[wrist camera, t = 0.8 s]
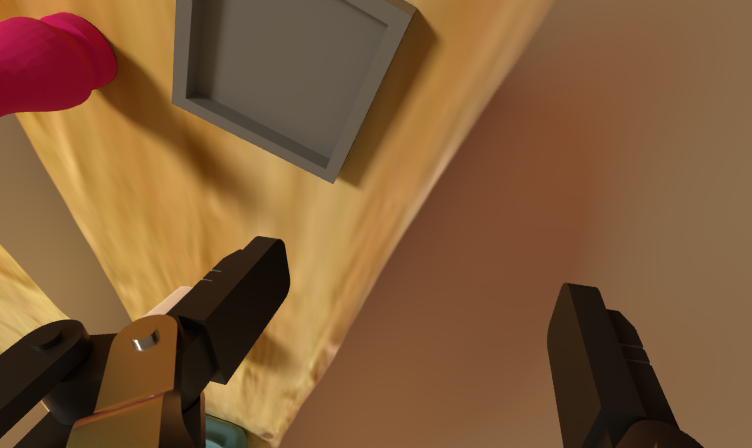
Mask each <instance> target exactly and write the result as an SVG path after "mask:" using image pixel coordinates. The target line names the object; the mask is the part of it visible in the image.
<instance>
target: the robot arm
mask: <svg viewBox="0 0 752 448" xmlns="http://www.w3.org/2000/svg"><path fill="white" fill-rule="evenodd" d="M289 288H290V274H289V268H288V262H287V255H286V249H285V244H284V242H283V241H282V240H281V239H275V238H269V237H262V236H257V237H255V238H254V239H253V240H252V241H251V242H250V243H249V244H248V245H247V246H246V247H245V248H244V249H243V250H240V249H239V250H237V251H236V252H234V253H232V254H230V255H228V256H226V257H225V258H223V259H222V260H221V261H220V262H219V263H218V264H217V265H216V266H215V267H214V268H213V269H212V271H210V272H209V273H208V274H207V275H206V276H205V277H204V278H203V280H200V281H199V282H198V283H197V284H196V285H195V286H194V287H193V288H192V289H191V290H190V291H189V292H188V293H187V294H186V295H185V296H184V297H183V298H182V299H181V300H180V301H179V302H178V303H177V304H176V305H174V306H173V307H172V308H171V309H170V310H169V311H168V312H167V313H166V314H165V315H162V314H158V315H150V316H146V317H143V318H140V319H138V320H136V321H134V322H132V323H130V324H129V325H127V326H126V327H124V328H123V329H122V330H121V331H120V332H119V333H116V334H102V335H89V334H88V333H87V331H86V329H85V328H84V326H83V324H82V323H81V322H79V321H77V320H71V319H68V320H59V321H55V322H52V323H49V324H46V325H44V326H41V327H39V328H37V329H35V330H33V331H32V332H30V333H29V334H27V335H26V336H24V337H23V338H22V339H20V340H19V341H18V342H16V343H15V344H14V345H12V346H11V347H10V348H9V349H7V350H6V351H5V352H3V353H2V354H1V355H0V439H1V437H2V436H3V435H5V434H6V433H7V431H9V430H10V429H11V428H12V427H13V426H14V425H15V424H16V423H17V422H18V421H19V420H20V419H21V418H23V417H24V416H25V415H26V414H27V413H28V412H29V411H30V410H31V409H32V408H33V407H34V406H35V405H36V404H37V403H38V402H39V401H41V400H42V401H43V402H44V404H45V405H46V406H47V408H48V409H49V410H50V412H49V413H48V414H47V415H46V416H45V417H44V418H43V419H42V420H41V421H40V422H39V423H38V424H37V425H36V426H35V427H34V428H32V429H31V430H30V432H29V433H28V434H26V436H24V437H23V439H21V440H20V442H18V443H17V444H16V445H15V446H14V447H13V448H206V423H205V394H204V391H203V390H204V388H205V387H206V386H207V384H208V383H209V381H212V382H216V383H220V384H224V385H226V384H227V383H228V381H229V380H230V378H231V377H232V375H233V374H234V372H235V371H236V369H237V368H238V367H239V365H240V364H241V362H242V361H243V359H244V358H245V356H246V355H247V354H248V352H249V351H250V349H251V348H252V346H253V345H254V343H255V342H256V340H257V339H258V338H259V336H260V335H261V333H262V332H263V330H264V329H265V327H266V326H267V324H268V323H269V322H270V320H271V319H272V317H273V316H274V314H275V313H276V311H277V310H278V309H279V307H280V306H281V304H282V303H283V301H284V300H285V298H286V296H287V294H288V292H289ZM547 348H548V355H549V360H550V366H551V373H552V379H553V385H554V391H555V397H556V404H557V410H558V416H559V422H560V428H561V434H562V440H563V446H564V448H704V447H703V446H702V445H701V444H700V443H698V442H697V441H696V440H695V439H693V438H692V437H691V436H689V435H688V434H687V433H685V432H683V431H682V430H680V428H679V427H678V424H677V422H676V420H675V418H674V415H673V413H672V411H671V408H670V406H669V404H668V402H667V399H666V398H665V395H664V393H663V390H662V388H661V386H660V384H659V381H658V379H657V377H656V374H655V372H654V370H653V368H652V366H651V365H650V364H649V363H650V361H649V359H648V356H647V354H646V352H645V350H643V345H642V343H641V340H640V338H639V336H638V334H637V331H636V329H635V328H634V326H633V325H632V324H631V323H630V322H629V321H628V320H627V319H626V318H625V317H624V316H623V315H622V314H621V313H620V312H619V311H615V310H609V309H606V307H605V305H604V302H603V299H602V297H601V294H600V291H599V290H598V288H596V287H591V286H583V285H577V284H571V283H564V284H563V286H562V287H561V290H560V293H559V296H558V299H557V302H556V305H555V308H554V311H553V314H552V317H551V321H550V323H549V328H548V334H547Z"/></svg>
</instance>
